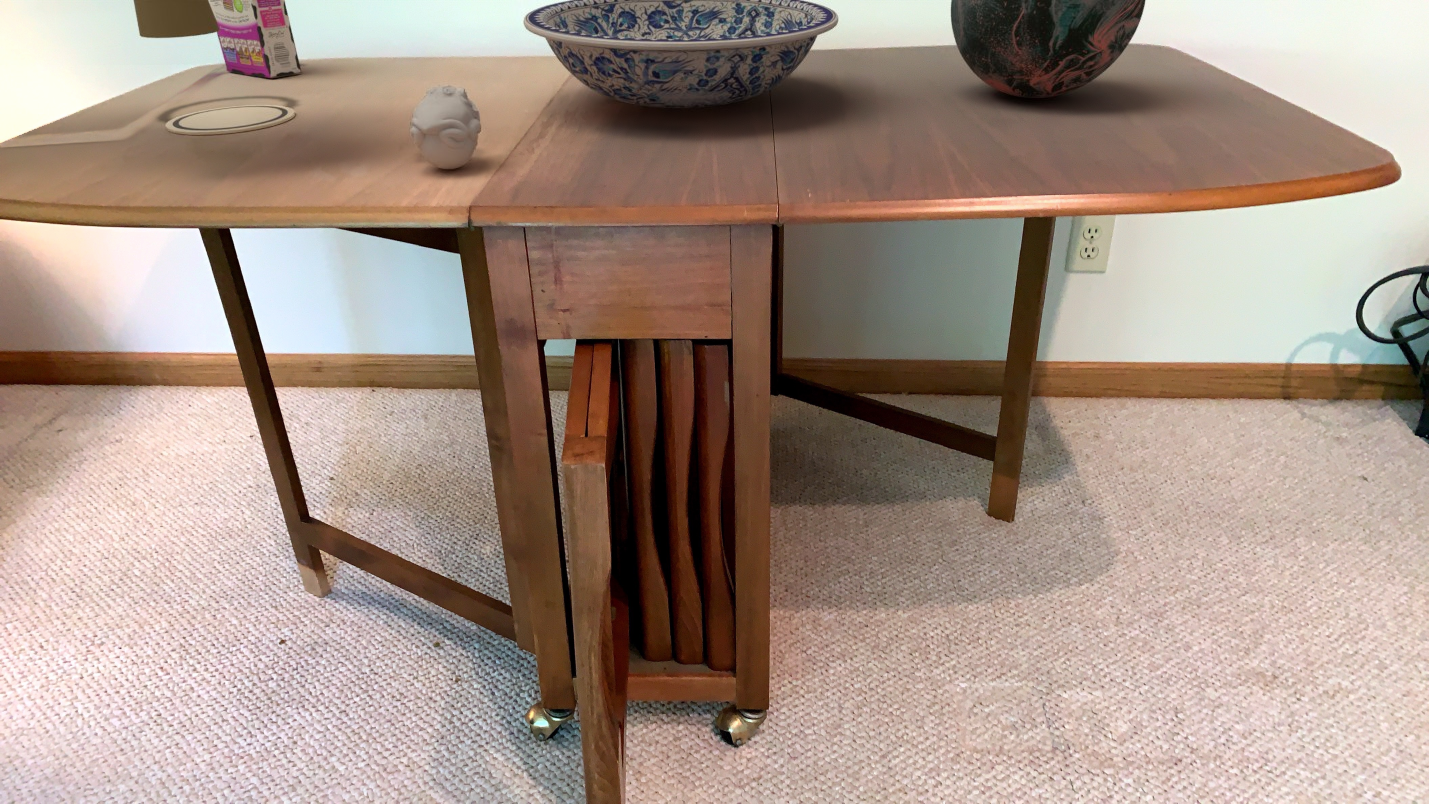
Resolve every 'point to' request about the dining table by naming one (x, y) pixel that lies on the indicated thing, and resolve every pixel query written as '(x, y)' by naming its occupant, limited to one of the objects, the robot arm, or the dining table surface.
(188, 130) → the round coaster
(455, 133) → the frog figurine
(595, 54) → the ceramic bowl
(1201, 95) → the dining table surface
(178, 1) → the cork
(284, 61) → the candy bar box
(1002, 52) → the decorative sphere
